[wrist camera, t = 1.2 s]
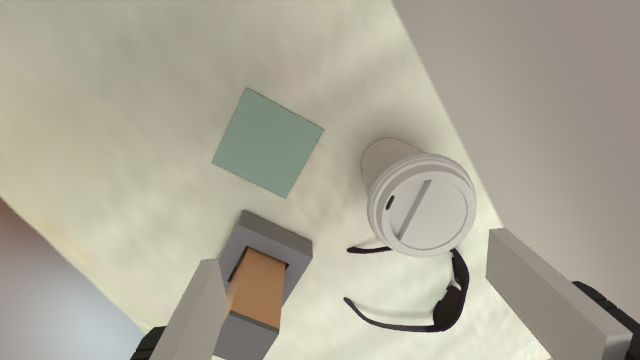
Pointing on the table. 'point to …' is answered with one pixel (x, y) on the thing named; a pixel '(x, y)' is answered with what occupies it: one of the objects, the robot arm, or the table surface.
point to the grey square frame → (266, 249)
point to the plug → (252, 307)
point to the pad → (266, 144)
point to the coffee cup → (416, 198)
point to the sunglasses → (445, 308)
